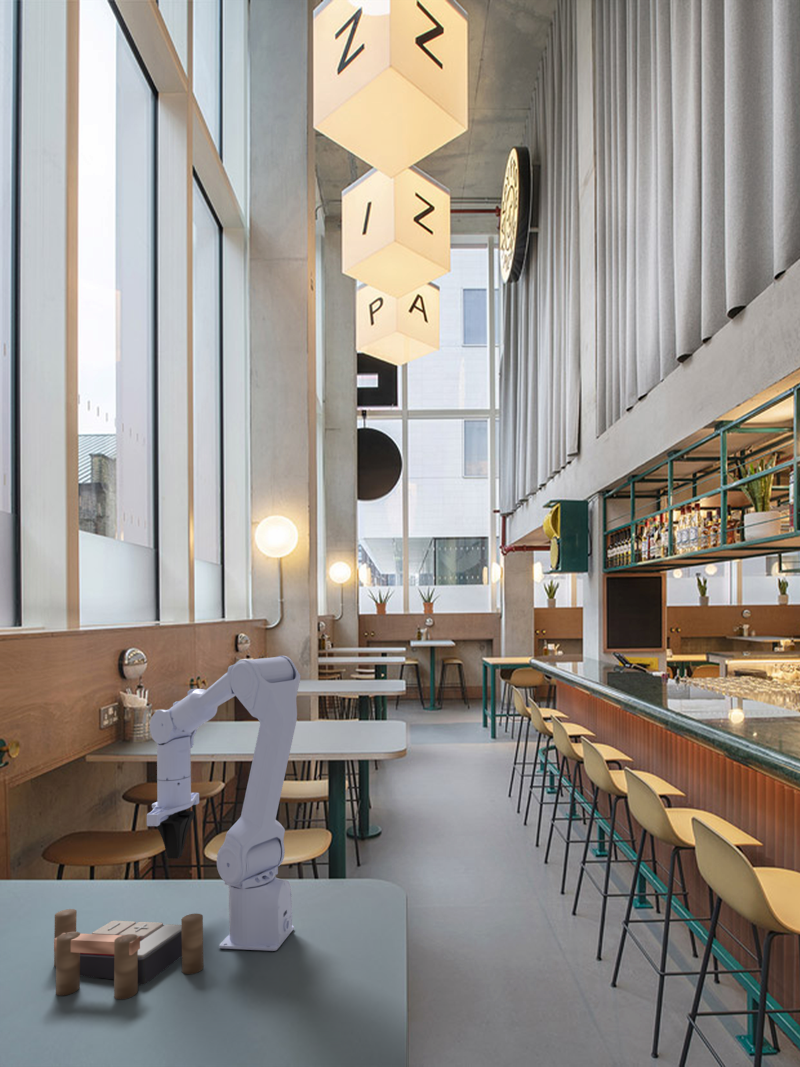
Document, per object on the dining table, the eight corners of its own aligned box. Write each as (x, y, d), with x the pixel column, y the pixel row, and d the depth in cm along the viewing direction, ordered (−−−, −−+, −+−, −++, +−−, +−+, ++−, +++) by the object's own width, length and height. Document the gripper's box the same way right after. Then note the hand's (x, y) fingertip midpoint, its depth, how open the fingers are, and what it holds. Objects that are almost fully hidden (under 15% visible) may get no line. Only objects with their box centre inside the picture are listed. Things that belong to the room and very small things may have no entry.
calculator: (112, 917, 112) (190, 920, 107) (113, 945, 111) (192, 950, 107) (58, 948, 102) (143, 953, 97) (59, 980, 101) (144, 986, 96)
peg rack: (207, 964, 101) (206, 913, 102) (170, 1002, 91) (169, 946, 92) (63, 956, 106) (63, 908, 107) (13, 992, 96) (14, 939, 97)
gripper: (174, 768, 131) (175, 843, 129) (130, 787, 117) (130, 871, 115) (209, 768, 130) (210, 844, 128) (168, 787, 116) (168, 872, 114)
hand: (174, 857), depth 121 cm, fingers closed
